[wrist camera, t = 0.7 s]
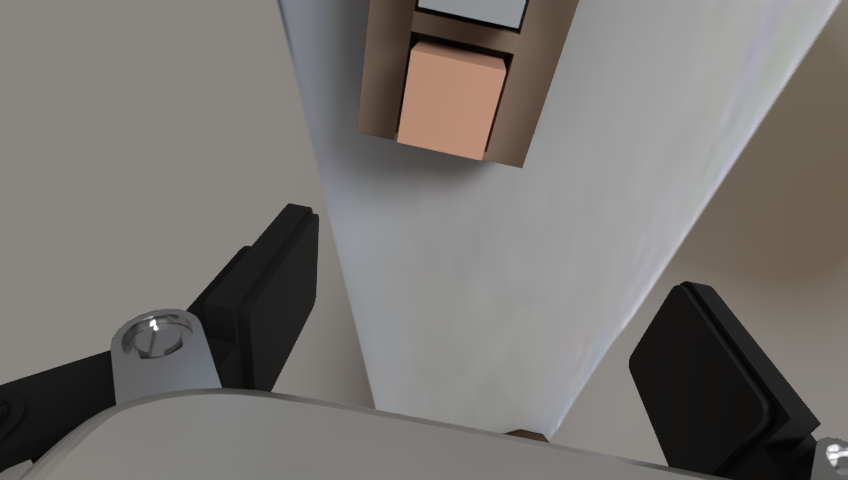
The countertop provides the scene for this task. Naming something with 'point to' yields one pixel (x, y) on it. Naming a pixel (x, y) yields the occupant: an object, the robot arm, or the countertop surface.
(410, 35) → the key console
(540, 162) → the countertop surface
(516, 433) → the beer bottle
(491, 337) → the countertop surface
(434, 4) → the slate key
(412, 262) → the countertop surface
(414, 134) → the terracotta key
